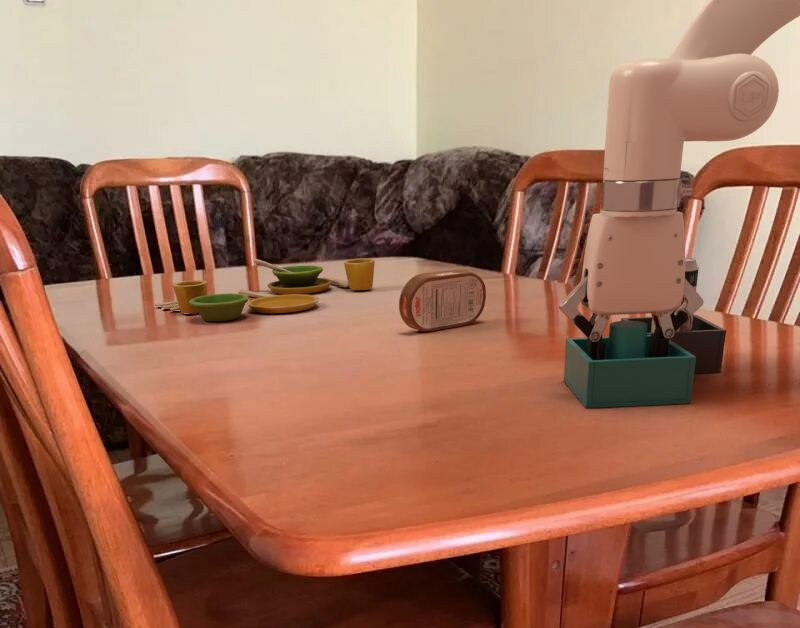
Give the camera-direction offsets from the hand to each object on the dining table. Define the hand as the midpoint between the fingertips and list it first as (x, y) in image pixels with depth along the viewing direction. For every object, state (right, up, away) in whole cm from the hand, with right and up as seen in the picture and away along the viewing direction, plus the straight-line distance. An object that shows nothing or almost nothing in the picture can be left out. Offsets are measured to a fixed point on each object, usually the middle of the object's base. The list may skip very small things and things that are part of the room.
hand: (625, 372), depth 92 cm
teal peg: (0, -2, +1) cm, 2 cm away
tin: (-18, +14, +36) cm, 43 cm away
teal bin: (0, -2, +1) cm, 2 cm away
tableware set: (-48, +26, +64) cm, 84 cm away
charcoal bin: (+8, +3, +11) cm, 14 cm away
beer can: (+8, +3, +11) cm, 14 cm away
